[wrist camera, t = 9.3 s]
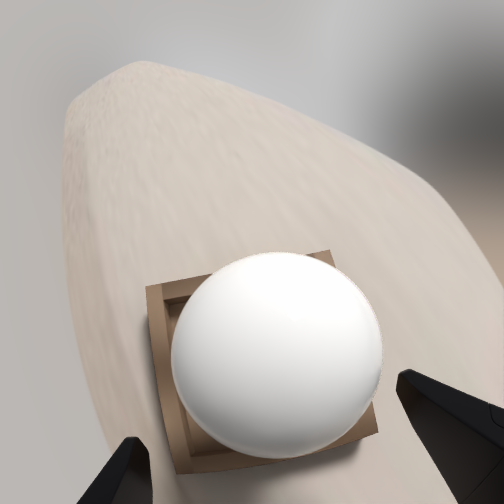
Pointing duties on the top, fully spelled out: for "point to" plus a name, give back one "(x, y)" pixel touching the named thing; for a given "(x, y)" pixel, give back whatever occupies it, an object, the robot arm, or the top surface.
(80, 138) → the top surface
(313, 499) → the top surface
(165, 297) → the walnut tray
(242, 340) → the lightbulb
